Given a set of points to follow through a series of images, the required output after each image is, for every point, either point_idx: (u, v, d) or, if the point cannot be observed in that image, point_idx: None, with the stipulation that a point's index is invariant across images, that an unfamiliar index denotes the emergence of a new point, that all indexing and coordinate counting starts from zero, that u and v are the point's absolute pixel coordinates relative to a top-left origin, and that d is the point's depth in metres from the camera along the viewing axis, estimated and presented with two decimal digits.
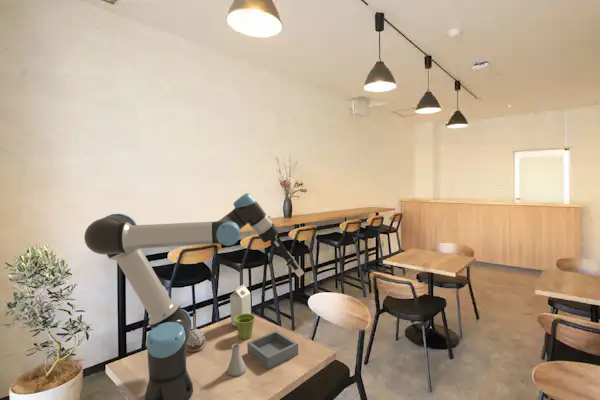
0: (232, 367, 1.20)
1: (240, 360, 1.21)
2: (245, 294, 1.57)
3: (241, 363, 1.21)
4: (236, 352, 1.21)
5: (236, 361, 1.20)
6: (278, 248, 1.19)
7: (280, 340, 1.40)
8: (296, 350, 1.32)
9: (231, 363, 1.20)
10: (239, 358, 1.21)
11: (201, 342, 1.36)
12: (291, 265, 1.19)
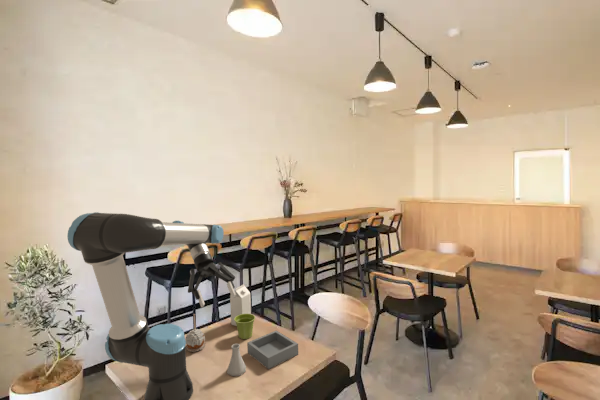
0: (232, 367, 1.20)
1: (240, 360, 1.21)
2: (245, 294, 1.57)
3: (241, 363, 1.21)
4: (236, 352, 1.21)
5: (236, 361, 1.20)
6: None
7: (280, 340, 1.40)
8: (296, 350, 1.32)
9: (231, 363, 1.20)
10: (239, 358, 1.21)
11: (201, 342, 1.36)
12: (232, 282, 1.38)
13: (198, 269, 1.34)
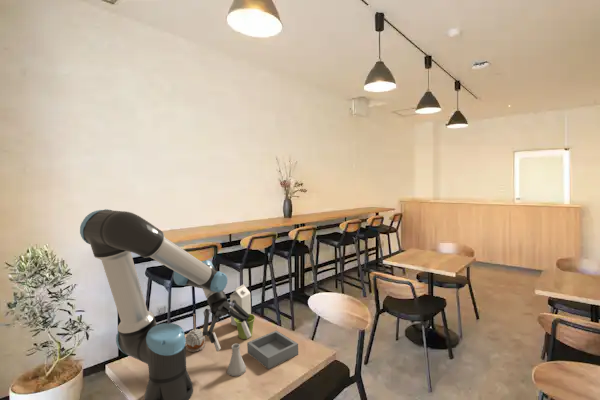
0: (232, 367, 1.20)
1: (240, 360, 1.21)
2: (245, 294, 1.57)
3: (241, 363, 1.21)
4: (236, 352, 1.21)
5: (236, 361, 1.20)
6: None
7: (280, 340, 1.40)
8: (296, 350, 1.32)
9: (231, 363, 1.20)
10: (239, 358, 1.21)
11: (201, 342, 1.36)
12: None
13: (212, 309, 1.30)
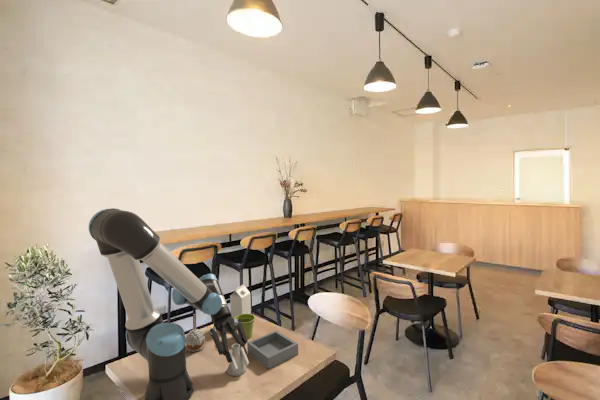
0: None
1: (240, 360, 1.21)
2: (245, 294, 1.57)
3: (241, 363, 1.21)
4: (236, 352, 1.21)
5: (236, 361, 1.20)
6: None
7: (280, 340, 1.40)
8: (296, 350, 1.32)
9: None
10: (239, 358, 1.21)
11: (201, 342, 1.36)
12: None
13: (216, 326, 1.24)
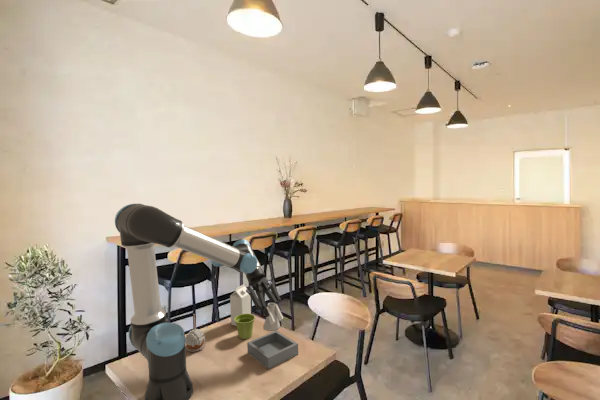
0: (268, 323, 1.30)
1: (275, 317, 1.31)
2: (245, 294, 1.57)
3: (276, 320, 1.31)
4: (272, 309, 1.31)
5: None
6: None
7: (280, 340, 1.40)
8: (296, 350, 1.32)
9: (267, 320, 1.30)
10: (275, 315, 1.31)
11: (201, 342, 1.36)
12: (278, 304, 1.34)
13: (253, 285, 1.34)
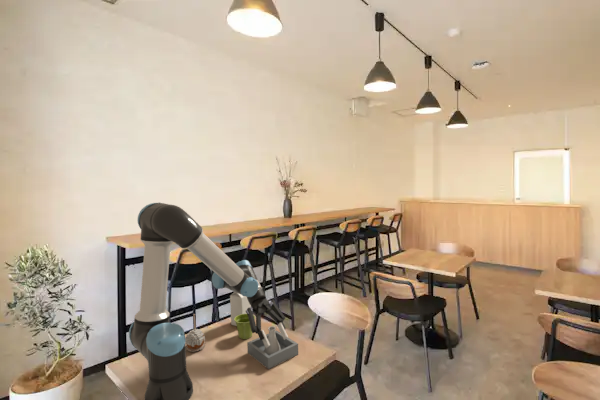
0: (269, 347, 1.31)
1: (276, 341, 1.32)
2: None
3: (277, 344, 1.32)
4: (273, 333, 1.32)
5: (273, 342, 1.31)
6: None
7: (280, 340, 1.40)
8: (296, 350, 1.32)
9: None
10: (275, 339, 1.32)
11: (201, 342, 1.36)
12: None
13: (253, 307, 1.35)
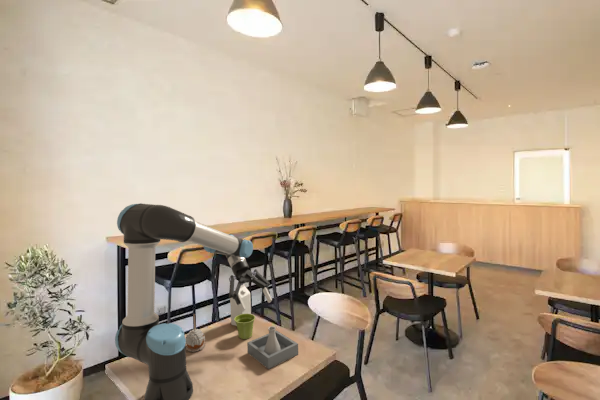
0: (269, 347, 1.31)
1: (276, 341, 1.32)
2: (245, 294, 1.57)
3: (277, 344, 1.32)
4: (273, 333, 1.32)
5: (273, 342, 1.31)
6: None
7: (280, 340, 1.40)
8: (296, 350, 1.32)
9: (268, 344, 1.31)
10: (275, 339, 1.32)
11: (201, 342, 1.36)
12: None
13: (237, 276, 1.44)
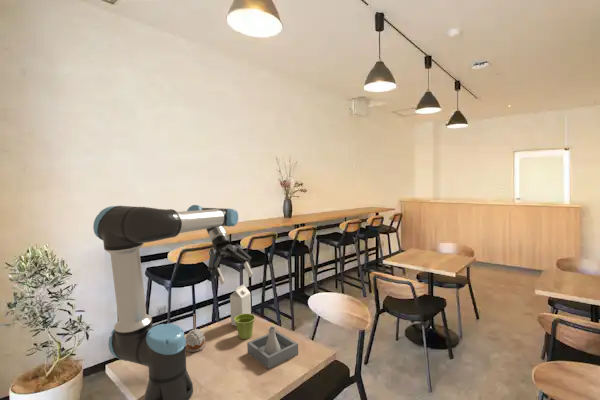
0: (269, 347, 1.31)
1: (276, 341, 1.32)
2: (245, 294, 1.57)
3: (277, 344, 1.32)
4: (273, 333, 1.32)
5: (273, 342, 1.31)
6: None
7: (280, 340, 1.40)
8: (296, 350, 1.32)
9: (268, 344, 1.31)
10: (275, 339, 1.32)
11: (201, 342, 1.36)
12: None
13: (217, 249, 1.41)
